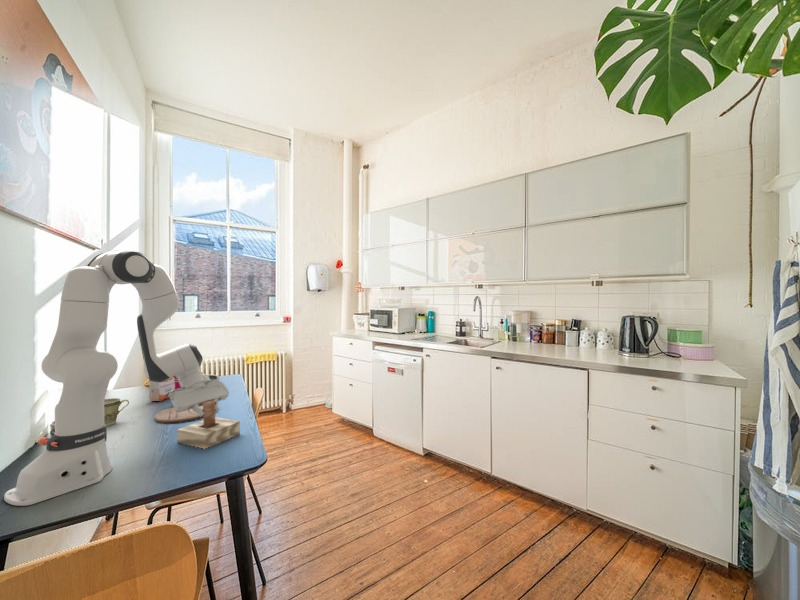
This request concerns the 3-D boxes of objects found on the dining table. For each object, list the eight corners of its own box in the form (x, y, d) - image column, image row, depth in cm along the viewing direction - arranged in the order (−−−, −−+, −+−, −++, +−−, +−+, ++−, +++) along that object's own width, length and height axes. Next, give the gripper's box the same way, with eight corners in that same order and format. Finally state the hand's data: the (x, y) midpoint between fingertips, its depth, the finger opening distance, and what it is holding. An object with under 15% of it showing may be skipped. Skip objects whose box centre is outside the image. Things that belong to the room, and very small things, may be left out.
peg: (208, 430, 130) (207, 404, 130) (201, 429, 132) (200, 402, 132) (217, 426, 134) (217, 401, 134) (210, 425, 135) (210, 400, 135)
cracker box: (160, 402, 183) (159, 362, 183) (148, 402, 183) (148, 363, 183) (177, 394, 197) (176, 358, 197) (167, 395, 197) (166, 358, 197)
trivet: (157, 428, 145) (156, 424, 145) (153, 414, 164) (153, 410, 164) (222, 415, 161) (222, 411, 161) (212, 403, 180) (211, 399, 180)
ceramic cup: (90, 430, 144) (90, 406, 144) (90, 424, 151) (90, 401, 151) (130, 422, 152) (129, 399, 152) (128, 417, 160) (128, 395, 160)
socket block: (204, 449, 123) (204, 435, 123) (177, 442, 129) (177, 429, 129) (239, 434, 136) (239, 421, 136) (213, 428, 142) (213, 416, 142)
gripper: (169, 385, 127) (185, 416, 122) (222, 374, 145) (237, 400, 140) (163, 396, 129) (178, 426, 124) (215, 384, 147) (230, 410, 142)
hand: (210, 412), depth 132 cm, fingers closed on peg, 4 cm apart
